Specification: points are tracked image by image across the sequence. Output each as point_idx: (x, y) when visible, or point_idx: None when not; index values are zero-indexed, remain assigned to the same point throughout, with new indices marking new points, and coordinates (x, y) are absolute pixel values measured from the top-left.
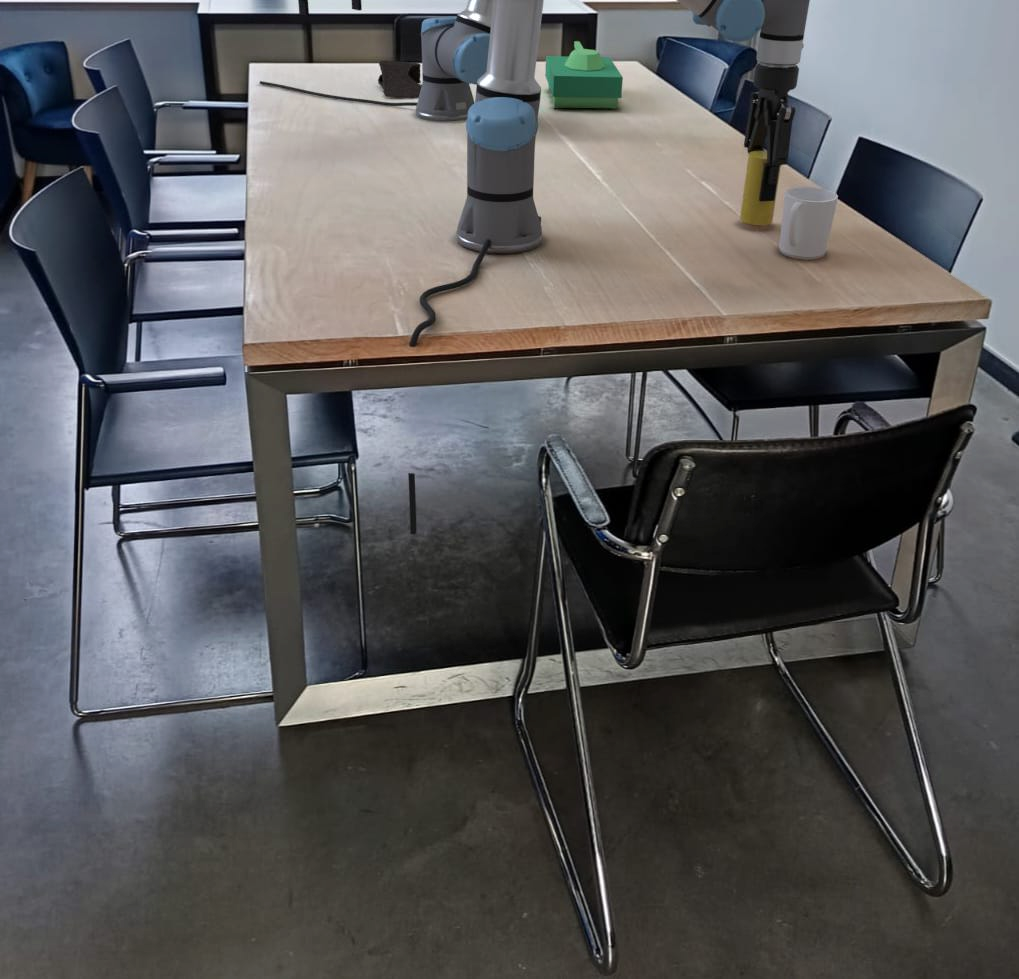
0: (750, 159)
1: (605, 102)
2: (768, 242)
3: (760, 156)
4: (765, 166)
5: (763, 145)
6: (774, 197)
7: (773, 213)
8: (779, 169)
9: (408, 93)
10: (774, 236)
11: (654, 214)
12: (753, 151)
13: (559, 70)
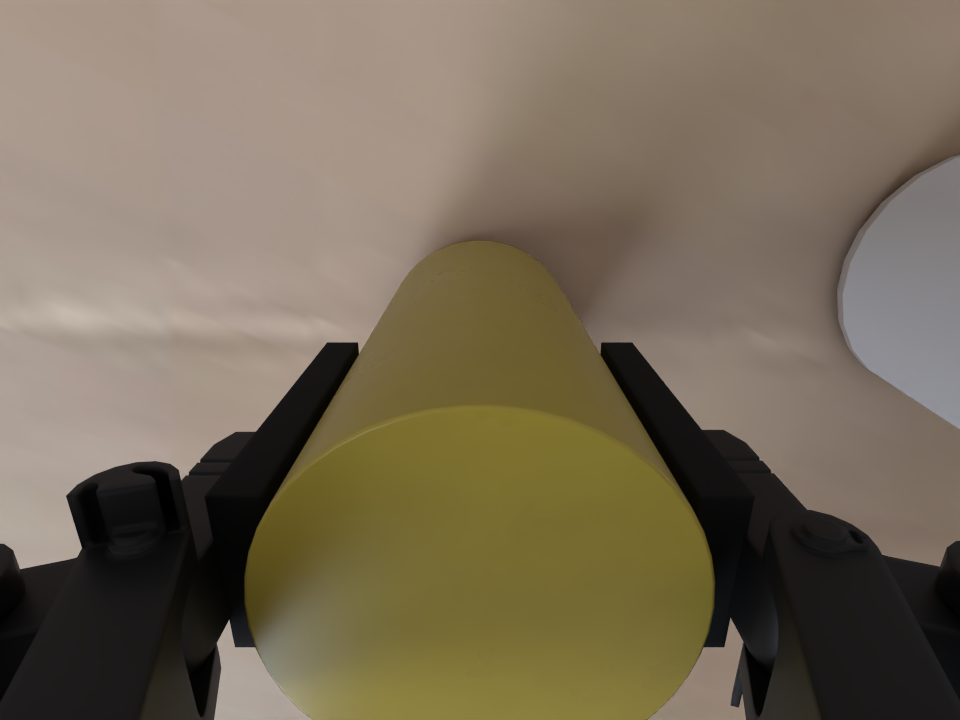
0: None
1: None
2: (739, 365)
3: (552, 700)
4: (712, 637)
5: (175, 609)
6: (639, 354)
7: (526, 259)
8: (617, 394)
9: None
10: (666, 296)
11: (265, 670)
12: (290, 687)
13: None
